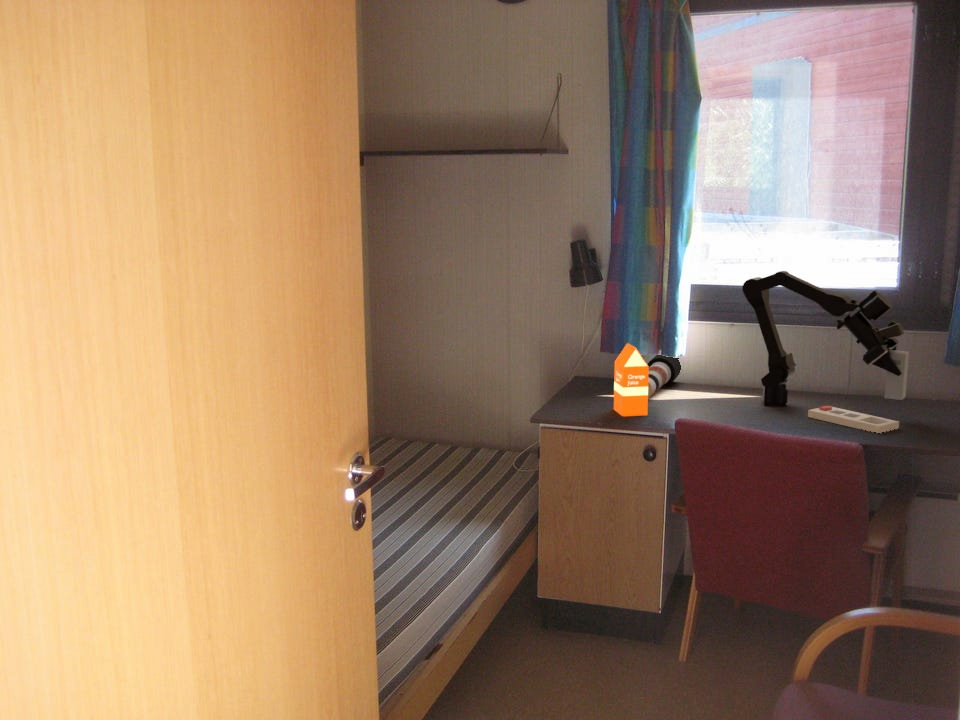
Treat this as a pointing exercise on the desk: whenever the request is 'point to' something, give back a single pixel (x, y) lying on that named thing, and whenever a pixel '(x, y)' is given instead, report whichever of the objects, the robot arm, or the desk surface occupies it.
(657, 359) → the telephoto camera lens
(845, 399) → the desk surface
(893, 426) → the power strip
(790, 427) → the desk surface
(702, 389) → the desk surface
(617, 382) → the orange juice
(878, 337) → the robot arm
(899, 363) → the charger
